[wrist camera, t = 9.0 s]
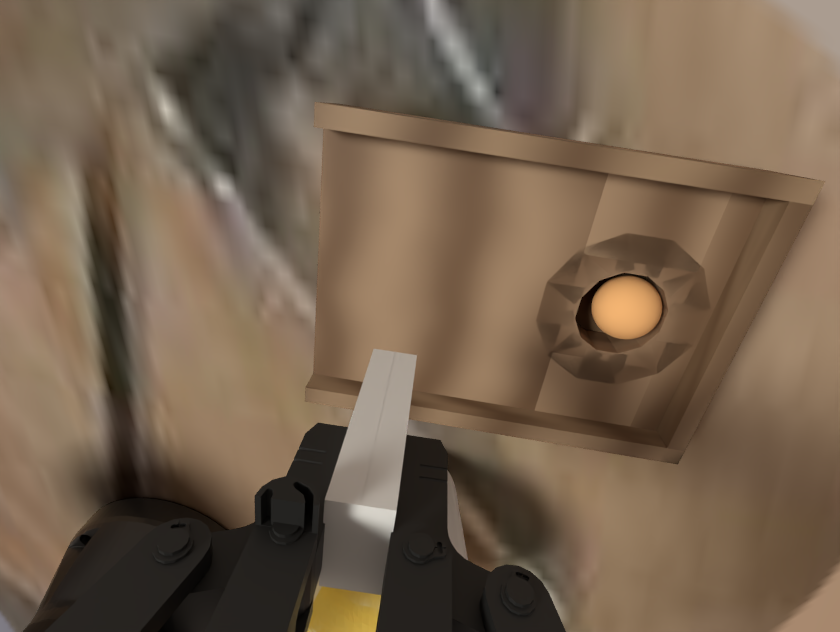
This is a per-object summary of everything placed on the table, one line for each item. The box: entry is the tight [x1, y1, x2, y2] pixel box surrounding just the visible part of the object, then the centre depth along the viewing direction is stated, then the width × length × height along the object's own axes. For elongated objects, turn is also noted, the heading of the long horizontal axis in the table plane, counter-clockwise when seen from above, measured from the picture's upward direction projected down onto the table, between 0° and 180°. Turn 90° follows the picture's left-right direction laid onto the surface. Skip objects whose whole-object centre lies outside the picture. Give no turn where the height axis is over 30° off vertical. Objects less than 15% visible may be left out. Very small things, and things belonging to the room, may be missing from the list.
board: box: [305, 102, 825, 464], centre depth 24 cm, size 22×16×4 cm
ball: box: [592, 276, 662, 339], centre depth 24 cm, size 4×4×4 cm
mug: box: [307, 470, 468, 632], centre depth 29 cm, size 14×10×10 cm
